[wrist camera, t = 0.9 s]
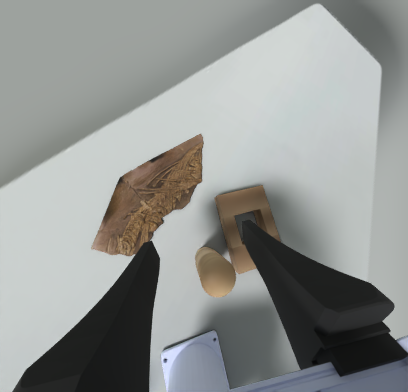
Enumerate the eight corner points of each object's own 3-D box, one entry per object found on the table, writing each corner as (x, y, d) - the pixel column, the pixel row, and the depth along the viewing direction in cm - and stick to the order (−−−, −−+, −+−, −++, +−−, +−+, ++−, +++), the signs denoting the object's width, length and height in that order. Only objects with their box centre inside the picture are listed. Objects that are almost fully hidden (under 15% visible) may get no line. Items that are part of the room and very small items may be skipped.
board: (276, 254, 25) (286, 257, 22) (233, 269, 23) (239, 274, 21) (255, 188, 27) (262, 185, 24) (214, 198, 25) (217, 195, 23)
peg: (218, 265, 23) (240, 290, 14) (197, 272, 23) (205, 302, 14) (213, 243, 24) (230, 253, 15) (191, 249, 23) (196, 264, 14)
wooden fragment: (122, 275, 21) (119, 277, 20) (68, 226, 22) (63, 226, 21) (227, 159, 28) (229, 156, 26) (184, 122, 28) (184, 118, 27)
